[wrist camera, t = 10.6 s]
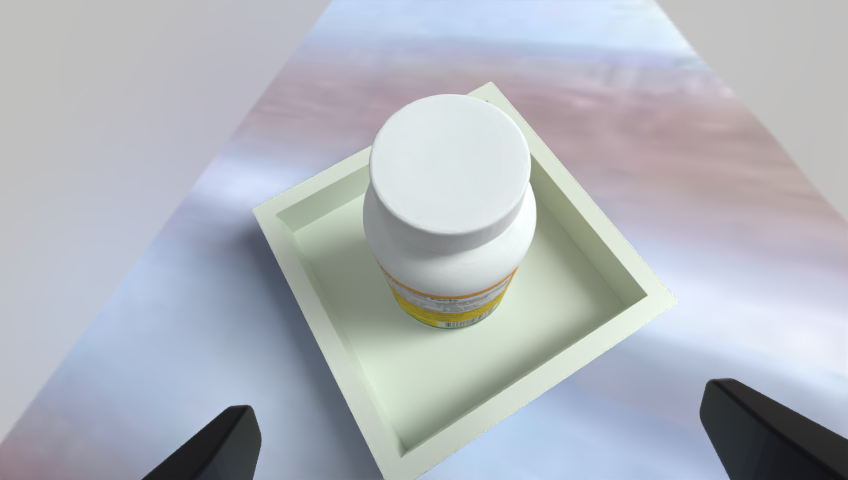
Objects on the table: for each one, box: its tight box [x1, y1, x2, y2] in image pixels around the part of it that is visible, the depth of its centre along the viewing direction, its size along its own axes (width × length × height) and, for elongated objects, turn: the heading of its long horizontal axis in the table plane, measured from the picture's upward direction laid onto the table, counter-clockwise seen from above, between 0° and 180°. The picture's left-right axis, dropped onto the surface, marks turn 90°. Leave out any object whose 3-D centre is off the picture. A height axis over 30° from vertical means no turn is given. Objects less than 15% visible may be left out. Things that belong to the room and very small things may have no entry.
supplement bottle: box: [363, 94, 536, 330], centre depth 15 cm, size 5×5×10 cm
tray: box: [252, 81, 679, 480], centre depth 19 cm, size 13×13×3 cm
